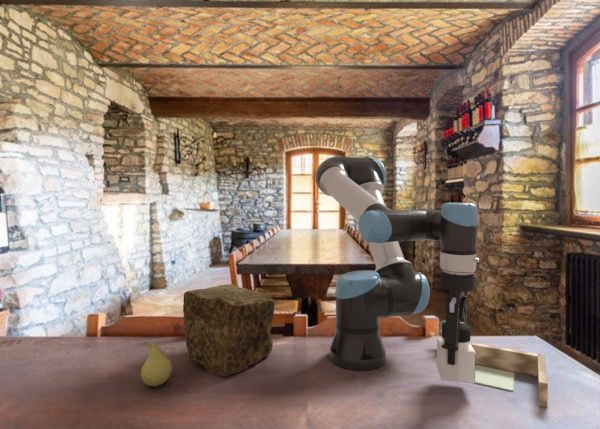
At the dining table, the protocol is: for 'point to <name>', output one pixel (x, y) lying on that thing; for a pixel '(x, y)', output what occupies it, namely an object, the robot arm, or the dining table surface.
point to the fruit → (156, 366)
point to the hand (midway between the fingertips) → (454, 368)
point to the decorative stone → (227, 327)
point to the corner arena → (515, 364)
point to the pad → (494, 378)
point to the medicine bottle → (465, 356)
